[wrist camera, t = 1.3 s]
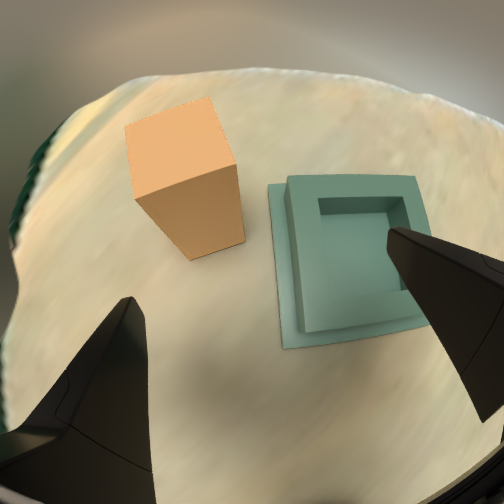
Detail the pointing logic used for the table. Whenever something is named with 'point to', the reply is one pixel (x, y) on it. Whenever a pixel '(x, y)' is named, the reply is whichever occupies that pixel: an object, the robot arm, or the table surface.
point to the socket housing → (342, 256)
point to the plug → (187, 177)
